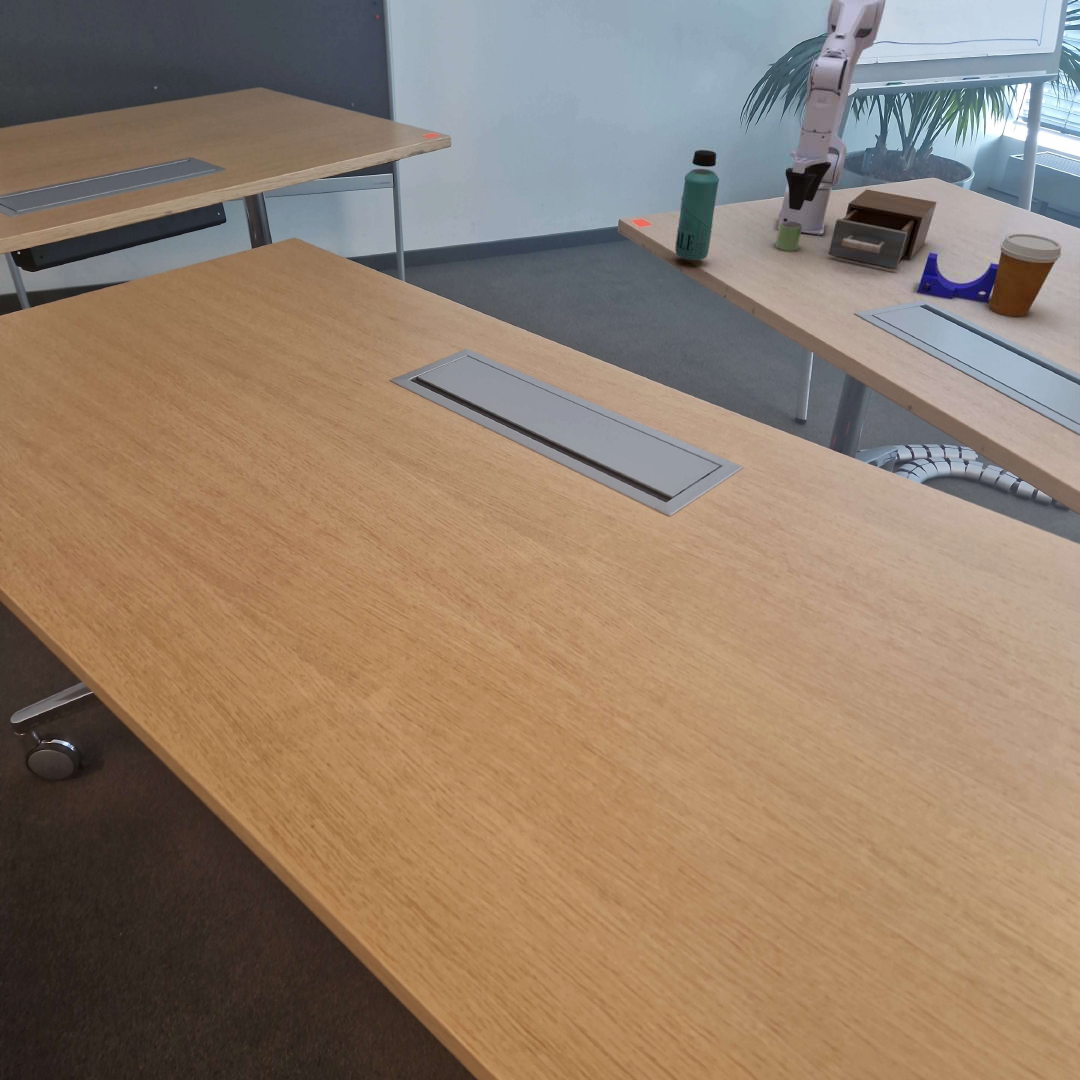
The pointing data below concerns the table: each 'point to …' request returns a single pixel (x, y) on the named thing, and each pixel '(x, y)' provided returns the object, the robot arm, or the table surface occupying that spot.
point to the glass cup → (788, 236)
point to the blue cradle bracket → (949, 289)
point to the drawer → (872, 237)
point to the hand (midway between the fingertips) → (800, 204)
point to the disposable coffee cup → (1022, 272)
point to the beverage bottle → (697, 208)
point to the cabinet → (899, 213)
